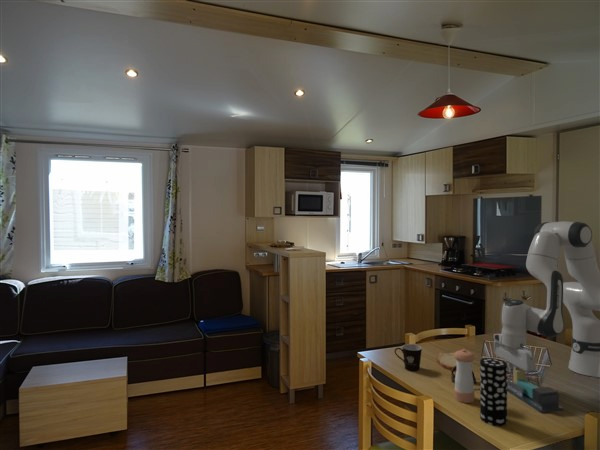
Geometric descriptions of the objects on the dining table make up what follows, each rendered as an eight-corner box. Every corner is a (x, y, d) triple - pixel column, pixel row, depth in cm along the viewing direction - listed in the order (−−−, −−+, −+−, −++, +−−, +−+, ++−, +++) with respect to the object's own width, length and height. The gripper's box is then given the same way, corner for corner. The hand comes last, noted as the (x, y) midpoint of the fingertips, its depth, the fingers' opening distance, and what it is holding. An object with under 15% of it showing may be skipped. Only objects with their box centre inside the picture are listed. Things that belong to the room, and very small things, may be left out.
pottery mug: (481, 387, 163) (474, 372, 161) (459, 396, 164) (452, 381, 162) (470, 369, 174) (463, 354, 172) (450, 377, 176) (443, 363, 174)
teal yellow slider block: (521, 386, 159) (521, 369, 159) (550, 403, 144) (550, 384, 144) (513, 387, 159) (513, 369, 158) (542, 404, 144) (542, 385, 144)
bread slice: (457, 374, 176) (457, 365, 176) (424, 362, 191) (424, 354, 191) (480, 364, 187) (480, 357, 187) (446, 354, 202) (446, 346, 201)
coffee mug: (425, 369, 181) (425, 347, 181) (414, 373, 176) (413, 351, 176) (405, 361, 191) (405, 341, 190) (393, 366, 186) (393, 345, 185)
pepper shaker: (455, 393, 157) (455, 345, 157) (475, 397, 153) (475, 348, 153) (452, 400, 151) (452, 350, 150) (473, 405, 147) (473, 353, 147)
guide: (516, 382, 166) (516, 367, 166) (563, 410, 142) (563, 393, 142) (497, 384, 164) (497, 369, 164) (541, 412, 141) (541, 395, 141)
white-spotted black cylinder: (503, 428, 131) (503, 368, 130) (477, 420, 136) (477, 363, 136) (509, 418, 137) (509, 361, 136) (484, 411, 142) (484, 356, 142)
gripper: (540, 348, 151) (539, 384, 151) (504, 332, 171) (504, 364, 171) (525, 349, 150) (525, 385, 150) (490, 333, 170) (490, 365, 170)
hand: (513, 374), depth 161 cm, fingers closed
